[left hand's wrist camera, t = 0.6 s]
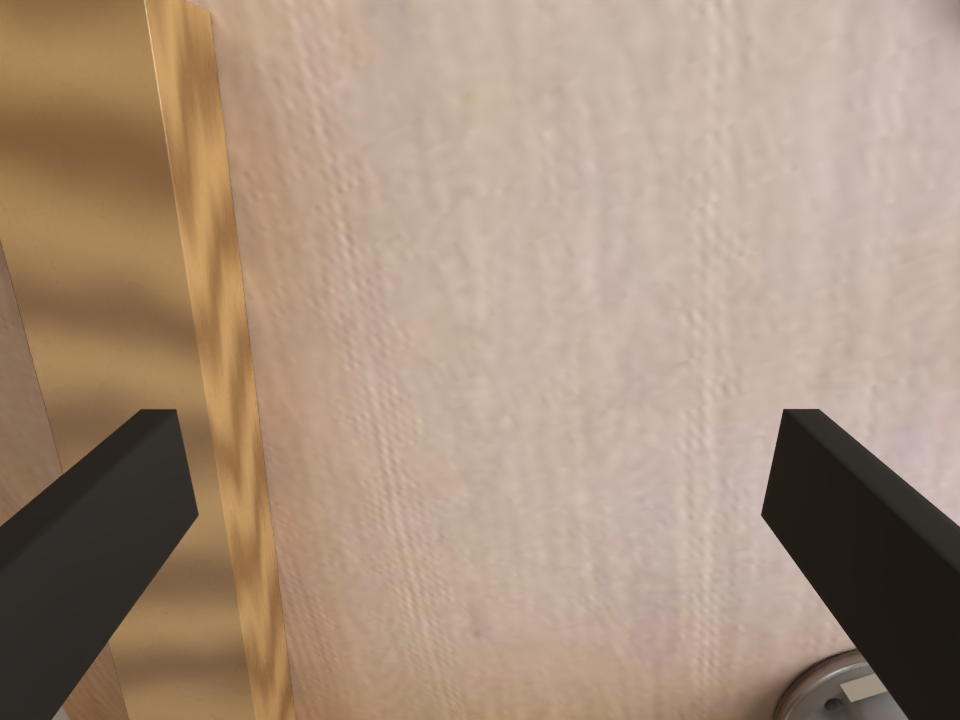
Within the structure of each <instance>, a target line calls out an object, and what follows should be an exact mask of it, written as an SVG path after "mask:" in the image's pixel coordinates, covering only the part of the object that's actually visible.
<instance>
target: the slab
mask: <svg viewBox="0 0 960 720" xmlns="http://www.w3.org/2000/svg"><path fill="white" fill-rule="evenodd" d="M0 241H1V245H2V249H3V252H4V256H5V260H6V263H7V267H8V271H9V275H10V278H11V282H12V286H13V289H14V293H15V297H16V301H17V304H18V308H19V312H20V316H21V319H22V323H23V327H24V330H25V334H26V338H27V342H28V345H29V349H30V353H31V356H32V360H33V364H34V368H35V371H36V375H37V379H38V383H39V386H40V390H41V394H42V397H43V401H44V405H45V409H46V412H47V416H48V420H49V424H50V427H51V431H52V435H53V438H54V442H55V446H56V450H57V453H58V457H59V461H60V464H61V468H62V472H63V474H64V473H65V472H66V471H68V470H69V469H70V468H71V467H72V466H74V465H75V464H76V463H77V462H78V461H80V460H81V459H82V458H83V457H84V456H86V455H87V454H88V453H89V452H90V451H92V450H93V449H94V448H95V447H96V446H98V445H99V444H100V443H101V442H102V441H104V440H105V439H106V438H107V437H108V436H109V435H111V434H112V433H113V432H114V431H115V430H117V429H118V428H119V427H120V426H121V425H123V424H124V423H125V422H126V421H127V420H129V419H130V418H131V417H132V416H133V415H135V414H136V413H137V412H138V411H139V410H141V409H177V414H178V419H179V424H180V428H181V433H182V438H183V442H184V447H185V452H186V457H187V461H188V466H189V471H190V475H191V480H192V485H193V490H194V494H195V499H196V504H197V508H198V513H199V516H198V517H197V519H196V520H195V521H194V523H193V524H192V525H191V527H190V528H189V530H188V531H187V532H186V534H185V535H184V537H183V538H182V539H181V541H180V542H179V544H178V545H177V546H176V548H175V549H174V550H173V552H172V553H171V555H170V556H169V557H168V559H167V560H166V562H165V563H164V564H163V566H162V567H161V568H160V570H159V571H158V573H157V574H156V575H155V577H154V578H153V580H152V581H151V582H150V584H149V585H148V587H147V588H146V589H145V591H144V592H143V593H142V595H141V596H140V598H139V599H138V600H137V602H136V603H135V605H134V606H133V607H132V609H131V610H130V611H129V613H128V614H127V616H126V617H125V618H124V620H123V621H122V623H121V624H120V625H119V627H118V628H117V630H116V631H115V632H114V634H113V635H112V636H111V638H110V639H109V641H108V643H109V647H110V651H111V654H112V658H113V662H114V666H115V669H116V673H117V677H118V680H119V684H120V688H121V692H122V695H123V699H124V703H125V706H126V710H127V714H128V718H129V720H295V712H294V703H293V695H292V687H291V679H290V670H289V662H288V654H287V645H286V637H285V629H284V621H283V612H282V604H281V596H280V587H279V579H278V571H277V563H276V554H275V546H274V538H273V530H272V521H271V513H270V505H269V496H268V488H267V480H266V472H265V463H264V455H263V447H262V438H261V430H260V422H259V414H258V405H257V397H256V389H255V380H254V372H253V364H252V356H251V347H250V339H249V331H248V322H247V314H246V306H245V298H244V289H243V281H242V273H241V264H240V256H239V248H238V240H237V231H236V223H235V215H234V207H233V198H232V190H231V182H230V173H229V165H228V157H227V149H226V140H225V132H224V124H223V115H222V107H221V99H220V91H219V82H218V74H217V66H216V57H215V49H214V41H213V33H212V24H211V16H210V11H208V10H206V9H204V8H201V7H199V6H197V5H194V4H192V3H190V2H187V1H185V0H0Z"/></svg>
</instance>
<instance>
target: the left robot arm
mask: <svg viewBox="0 0 960 720" xmlns="http://www.w3.org/2000/svg"><path fill="white" fill-rule="evenodd" d="M198 516H199V513H198V508H197V504H196V499H195V494H194V490H193V485H192V480H191V475H190V471H189V466H188V461H187V457H186V452H185V447H184V442H183V438H182V433H181V428H180V424H179V419H178V414H177V409H141V410H139V411H138V412H137V413H136V414H135V415H133V416H132V417H131V418H130V419H129V420H127V421H126V422H125V423H124V424H123V425H121V426H120V427H119V428H118V429H117V430H115V431H114V432H113V433H112V434H111V435H109V436H108V437H107V438H106V439H105V440H104V441H102V442H101V443H100V444H99V445H98V446H96V447H95V448H94V449H93V450H92V451H90V452H89V453H88V454H87V455H86V456H84V457H83V458H82V459H81V460H80V461H78V462H77V463H76V464H75V465H74V466H72V467H71V468H70V469H69V470H68V471H66V472H65V473H64V474H63V475H62V476H60V477H59V478H58V479H57V480H56V481H55V482H53V483H52V484H51V485H50V486H49V487H47V488H46V489H45V490H44V491H43V492H41V493H40V494H39V495H38V496H37V497H35V498H34V499H33V500H32V501H31V502H29V503H28V504H27V505H26V506H25V507H23V508H22V509H21V510H20V511H19V512H17V513H16V514H15V515H14V516H13V517H12V518H10V519H9V520H8V521H7V522H6V523H4V524H3V525H2V526H1V527H0V720H52V718H53V717H54V715H55V714H56V713H57V711H58V710H59V709H60V707H61V706H62V704H63V703H64V702H65V700H66V699H67V697H68V696H69V695H70V693H71V692H72V691H73V689H74V688H75V686H76V685H77V684H78V682H79V681H80V679H81V678H82V677H83V675H84V674H85V672H86V671H87V670H88V668H89V667H90V666H91V664H92V663H93V661H94V660H95V659H96V657H97V656H98V654H99V653H100V652H101V650H102V649H103V648H104V646H105V645H106V643H107V642H108V641H109V639H110V638H111V636H112V635H113V634H114V632H115V631H116V630H117V628H118V627H119V625H120V624H121V623H122V621H123V620H124V618H125V617H126V616H127V614H128V613H129V611H130V610H131V609H132V607H133V606H134V605H135V603H136V602H137V600H138V599H139V598H140V596H141V595H142V593H143V592H144V591H145V589H146V588H147V587H148V585H149V584H150V582H151V581H152V580H153V578H154V577H155V575H156V574H157V573H158V571H159V570H160V568H161V567H162V566H163V564H164V563H165V562H166V560H167V559H168V557H169V556H170V555H171V553H172V552H173V550H174V549H175V548H176V546H177V545H178V544H179V542H180V541H181V539H182V538H183V537H184V535H185V534H186V532H187V531H188V530H189V528H190V527H191V525H192V524H193V523H194V521H195V520H196V519H197V517H198ZM761 516H762V517H763V519H764V520H765V521H766V523H767V524H768V526H769V527H770V528H771V530H772V531H773V532H774V534H775V535H776V537H777V538H778V539H779V541H780V542H781V544H782V545H783V546H784V548H785V549H786V550H787V552H788V553H789V555H790V556H791V557H792V559H793V560H794V562H795V563H796V564H797V566H798V567H799V568H800V570H801V571H802V573H803V574H804V575H805V577H806V578H807V580H808V581H809V582H810V584H811V585H812V587H813V588H814V589H815V591H816V592H817V593H818V595H819V596H820V598H821V599H822V600H823V602H824V603H825V605H826V606H827V607H828V609H829V610H830V611H831V613H832V614H833V616H834V617H835V618H836V620H837V621H838V623H839V624H840V625H841V627H842V628H843V630H844V631H845V632H846V634H847V635H848V636H849V638H850V639H851V641H852V642H853V643H854V645H855V646H856V648H857V649H858V650H859V652H860V653H861V654H862V656H863V657H864V659H865V660H866V661H867V663H868V664H869V666H870V667H871V668H872V670H873V671H874V672H875V674H876V675H877V677H878V678H879V679H880V681H881V682H882V684H883V685H884V686H885V688H886V689H887V691H888V692H889V693H890V695H891V696H892V697H893V699H894V700H895V702H896V703H897V704H898V706H899V707H900V709H901V710H902V711H903V713H904V714H905V715H906V717H907V718H908V720H960V527H959V526H958V525H957V524H956V523H954V522H953V521H952V520H951V519H950V518H948V517H947V516H946V515H945V514H944V513H943V512H941V511H940V510H939V509H938V508H937V507H935V506H934V505H933V504H932V503H931V502H929V501H928V500H927V499H926V498H925V497H923V496H922V495H921V494H920V493H919V492H917V491H916V490H915V489H914V488H913V487H911V486H910V485H909V484H908V483H907V482H905V481H904V480H903V479H902V478H901V477H900V476H898V475H897V474H896V473H895V472H894V471H892V470H891V469H890V468H889V467H888V466H886V465H885V464H884V463H883V462H882V461H880V460H879V459H878V458H877V457H876V456H874V455H873V454H872V453H871V452H870V451H868V450H867V449H866V448H865V447H864V446H862V445H861V444H860V443H859V442H858V441H856V440H855V439H854V438H853V437H852V436H851V435H849V434H848V433H847V432H846V431H845V430H843V429H842V428H841V427H840V426H839V425H837V424H836V423H835V422H834V421H833V420H831V419H830V418H829V417H828V416H827V415H825V414H824V413H823V412H822V411H821V410H819V409H783V414H782V419H781V424H780V428H779V433H778V438H777V442H776V447H775V452H774V457H773V461H772V466H771V471H770V475H769V480H768V485H767V490H766V494H765V499H764V504H763V508H762V513H761Z"/></svg>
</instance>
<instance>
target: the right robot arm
mask: <svg viewBox="0 0 960 720" xmlns="http://www.w3.org/2000/svg"><path fill="white" fill-rule="evenodd" d="M773 720H908V718H907V717H906V715H905V714H904V713H903V711H902V710H901V709H900V707H899V706H898V704H897V703H896V702H895V700H894V699H893V697H892V696H891V695H890V693H889V692H888V691H887V689H886V688H885V686H884V685H883V684H882V682H881V681H880V679H879V678H878V677H877V675H876V674H875V672H874V671H873V670H872V668H871V667H870V666H869V664H868V663H867V661H866V660H865V659H864V657H863V656H862V654H861V653H860V652H859V650H855V651H851V652H848V653H845V654H842V655H839V656H836V657H834V658H831V659H829V660H827V661H825V662H823V663H821V664H819V665H817V666H816V667H814V668H812V669H811V670H809V671H808V672H806V673H805V674H804V675H802V676H801V677H800V678H799V679H798V680H797V681H795V682H794V683H793V684H792V685H791V687H790V688H789V689H788V690H787V691H786V693H785V694H784V695H783V697H782V698H781V700H780V702H779V704H778V706H777V708H776V711H775V714H774V719H773Z"/></svg>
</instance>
